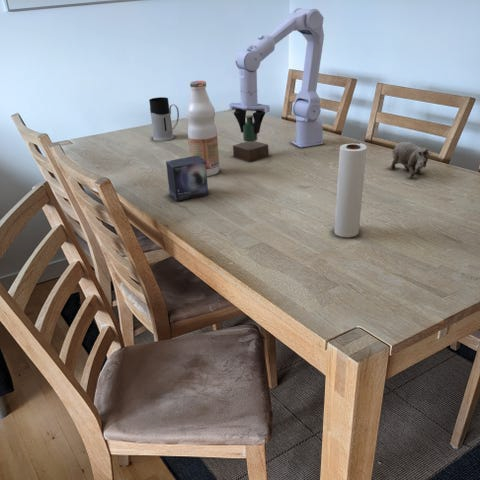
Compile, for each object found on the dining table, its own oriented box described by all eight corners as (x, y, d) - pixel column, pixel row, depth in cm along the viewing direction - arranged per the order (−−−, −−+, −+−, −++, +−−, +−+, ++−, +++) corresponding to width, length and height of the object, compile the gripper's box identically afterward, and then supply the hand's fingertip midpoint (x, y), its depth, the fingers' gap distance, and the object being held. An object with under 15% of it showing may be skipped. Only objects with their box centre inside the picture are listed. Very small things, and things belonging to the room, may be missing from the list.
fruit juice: (191, 177, 166) (181, 85, 150) (192, 168, 174) (183, 80, 158) (219, 176, 166) (213, 83, 150) (219, 167, 174) (213, 78, 158)
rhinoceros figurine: (405, 155, 167) (423, 123, 153) (422, 189, 163) (442, 159, 149) (384, 160, 166) (400, 128, 152) (400, 194, 162) (418, 165, 147)
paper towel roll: (342, 240, 123) (349, 151, 111) (329, 230, 128) (334, 145, 115) (367, 233, 125) (376, 146, 113) (353, 225, 130) (361, 140, 118)
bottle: (254, 136, 181) (253, 113, 177) (259, 140, 178) (259, 116, 173) (241, 138, 180) (240, 115, 176) (246, 142, 176) (245, 118, 172)
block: (251, 151, 187) (251, 140, 185) (268, 155, 182) (268, 144, 179) (233, 156, 183) (232, 145, 181) (249, 161, 177) (249, 150, 175)
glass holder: (163, 134, 213) (158, 96, 205) (188, 138, 206) (184, 99, 198) (148, 139, 208) (142, 100, 199) (174, 143, 201) (169, 103, 192)
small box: (176, 202, 149) (172, 166, 143) (169, 195, 153) (164, 161, 148) (209, 194, 152) (206, 160, 146) (200, 188, 157) (197, 154, 151)
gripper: (224, 92, 170) (226, 133, 178) (262, 94, 164) (263, 137, 172) (234, 88, 175) (236, 128, 183) (272, 90, 169) (272, 131, 177)
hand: (250, 132), depth 177 cm, fingers closed on bottle, 5 cm apart
